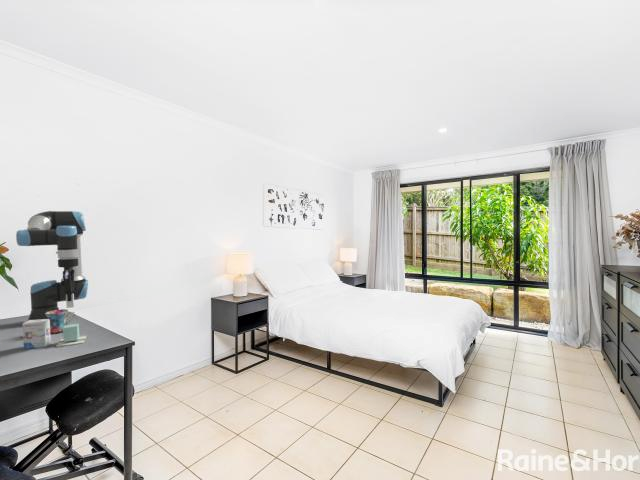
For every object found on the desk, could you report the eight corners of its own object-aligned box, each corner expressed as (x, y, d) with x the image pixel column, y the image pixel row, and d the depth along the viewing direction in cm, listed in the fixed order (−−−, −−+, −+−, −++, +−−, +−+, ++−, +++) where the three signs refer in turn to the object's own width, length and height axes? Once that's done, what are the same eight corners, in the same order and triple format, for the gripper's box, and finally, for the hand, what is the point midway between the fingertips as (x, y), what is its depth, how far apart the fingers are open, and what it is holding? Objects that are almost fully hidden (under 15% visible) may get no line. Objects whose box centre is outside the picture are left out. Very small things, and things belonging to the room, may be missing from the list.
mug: (45, 335, 159) (44, 315, 159) (46, 331, 166) (45, 311, 166) (75, 330, 167) (74, 310, 166) (75, 326, 174) (74, 307, 173)
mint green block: (79, 336, 154) (78, 323, 154) (77, 340, 149) (76, 326, 149) (65, 338, 151) (65, 325, 151) (63, 342, 147) (63, 328, 147)
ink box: (22, 349, 141) (21, 323, 141) (29, 345, 146) (28, 320, 146) (45, 347, 144) (44, 321, 143) (51, 343, 149) (50, 318, 148)
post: (61, 339, 153) (60, 325, 153) (86, 335, 158) (86, 322, 158) (55, 347, 143) (54, 332, 142) (83, 343, 148) (82, 328, 147)
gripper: (60, 257, 153) (63, 305, 154) (54, 260, 141) (57, 311, 143) (80, 256, 156) (82, 303, 158) (75, 259, 145) (77, 309, 146)
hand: (70, 307), depth 150 cm, fingers closed
